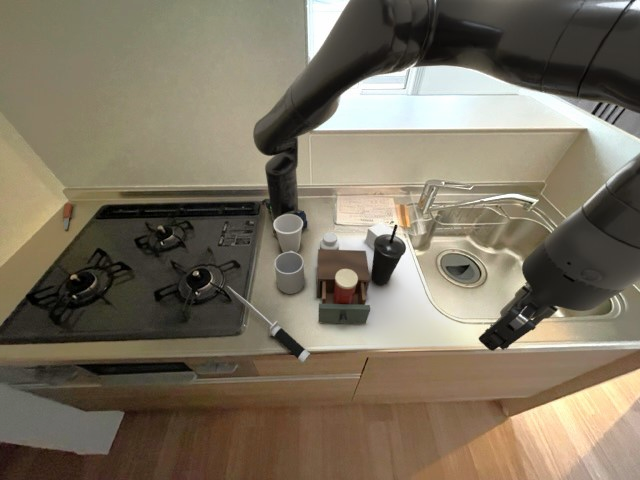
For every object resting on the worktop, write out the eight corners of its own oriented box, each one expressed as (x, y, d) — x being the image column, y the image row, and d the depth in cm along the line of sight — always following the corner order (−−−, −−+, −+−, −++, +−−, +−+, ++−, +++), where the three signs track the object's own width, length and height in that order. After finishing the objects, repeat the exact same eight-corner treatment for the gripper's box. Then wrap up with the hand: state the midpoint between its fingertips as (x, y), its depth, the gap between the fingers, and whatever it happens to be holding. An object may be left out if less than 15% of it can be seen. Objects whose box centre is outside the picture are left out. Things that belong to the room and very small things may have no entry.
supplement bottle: (336, 268, 74) (338, 245, 67) (317, 265, 75) (318, 242, 68) (338, 254, 78) (341, 231, 71) (321, 251, 78) (322, 228, 71)
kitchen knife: (73, 204, 92) (66, 206, 91) (70, 201, 91) (63, 203, 90) (71, 230, 82) (63, 232, 82) (68, 226, 81) (60, 229, 81)
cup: (276, 294, 67) (272, 273, 61) (280, 264, 74) (277, 243, 68) (303, 295, 67) (302, 274, 61) (305, 265, 74) (304, 244, 68)
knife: (308, 357, 58) (311, 350, 54) (301, 366, 56) (304, 359, 52) (232, 288, 66) (230, 277, 62) (224, 294, 64) (221, 284, 61)
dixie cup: (307, 240, 81) (306, 216, 74) (298, 260, 76) (297, 236, 68) (282, 235, 83) (279, 211, 76) (272, 254, 77) (268, 229, 70)
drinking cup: (387, 266, 75) (405, 213, 61) (397, 287, 70) (419, 235, 55) (362, 269, 74) (374, 216, 60) (370, 291, 69) (386, 239, 54)
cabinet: (364, 299, 67) (370, 280, 61) (316, 298, 67) (317, 278, 61) (361, 270, 74) (365, 250, 67) (317, 269, 74) (318, 249, 67)
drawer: (366, 328, 60) (371, 314, 55) (318, 327, 60) (318, 313, 55) (362, 293, 67) (366, 278, 62) (319, 292, 67) (319, 276, 62)
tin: (328, 304, 63) (330, 275, 55) (343, 294, 65) (347, 265, 57) (340, 319, 61) (345, 290, 52) (355, 308, 63) (362, 279, 54)
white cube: (365, 242, 82) (368, 228, 78) (378, 235, 84) (382, 221, 80) (378, 253, 78) (382, 240, 74) (392, 246, 81) (396, 232, 76)
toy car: (271, 221, 78) (281, 233, 76) (303, 207, 84) (313, 217, 81) (272, 234, 83) (281, 245, 80) (302, 219, 88) (312, 229, 86)
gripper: (574, 211, 31) (500, 286, 43) (517, 263, 25) (450, 334, 37) (654, 250, 27) (549, 320, 39) (610, 323, 21) (501, 381, 33)
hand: (501, 327), depth 38 cm, fingers open, 8 cm apart
